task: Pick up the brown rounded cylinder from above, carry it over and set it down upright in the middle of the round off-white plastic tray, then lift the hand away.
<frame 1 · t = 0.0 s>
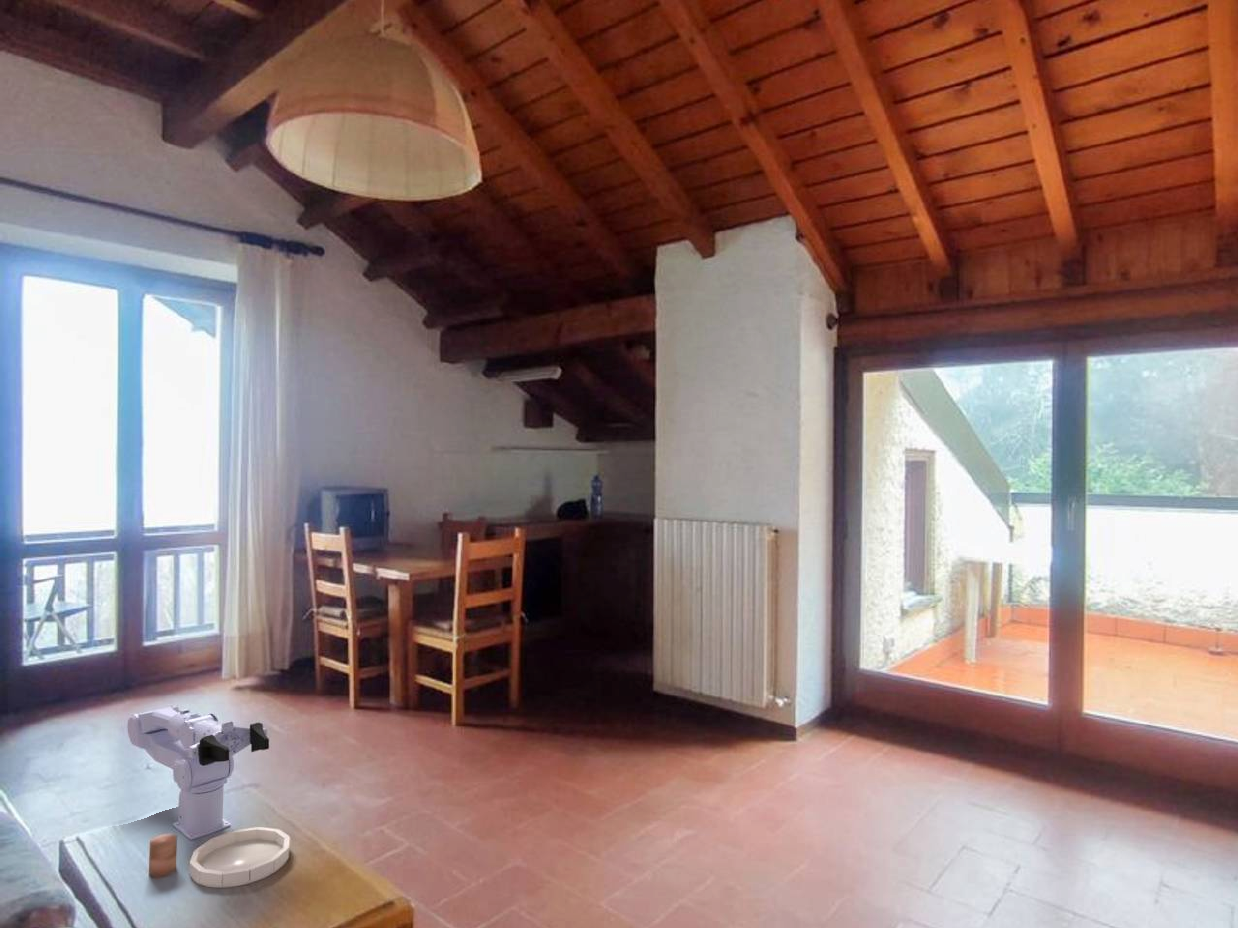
hand: (247, 749, 143), 22 cm above the table, tool horizontal, fingers open, 7 cm apart
brown rounded cylinder: (162, 871, 138), on the table
round tray: (241, 862, 141), on the table
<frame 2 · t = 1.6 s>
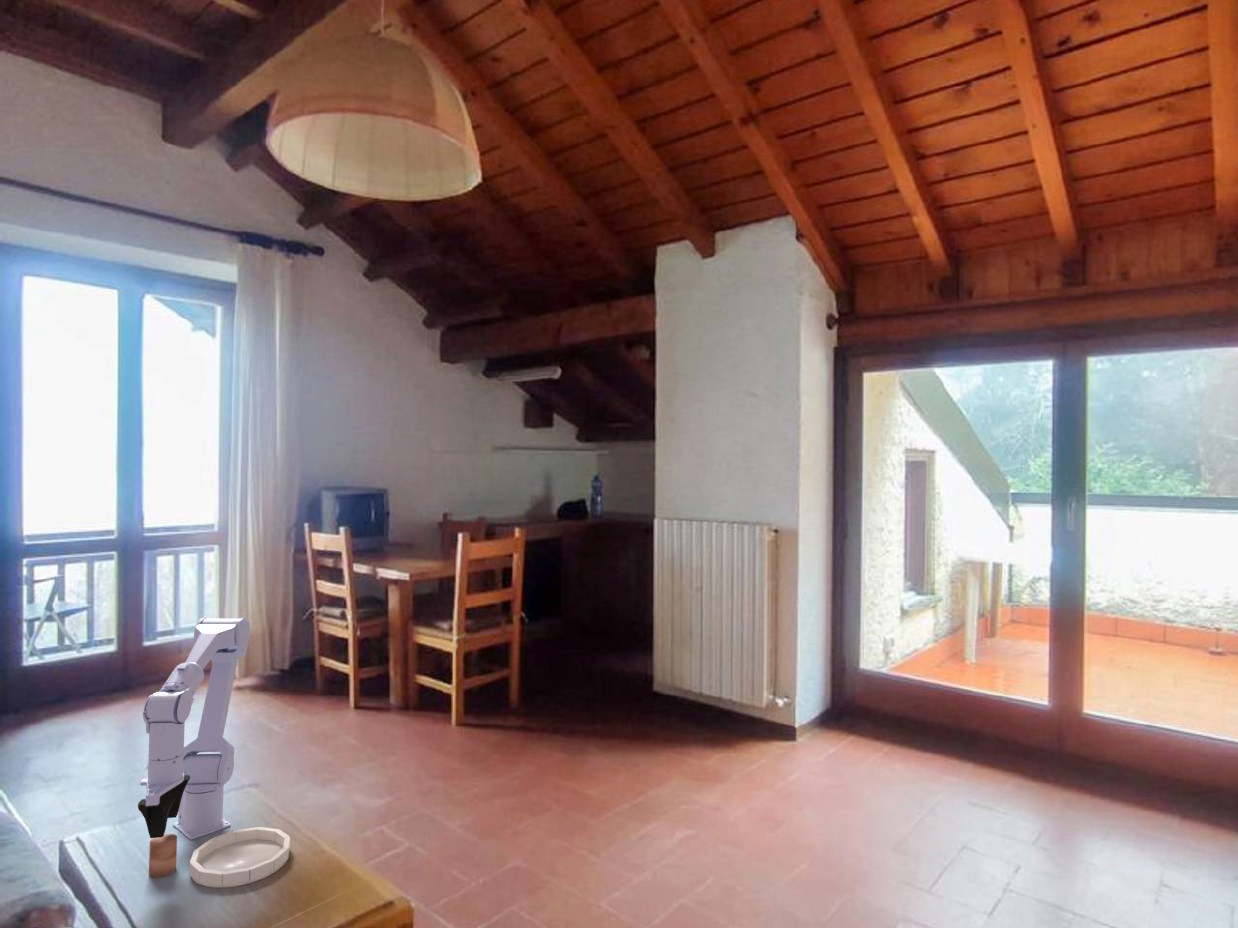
hand: (163, 826, 138), 8 cm above the table, tool pointing down, fingers open, 7 cm apart
nothing on the table moved.
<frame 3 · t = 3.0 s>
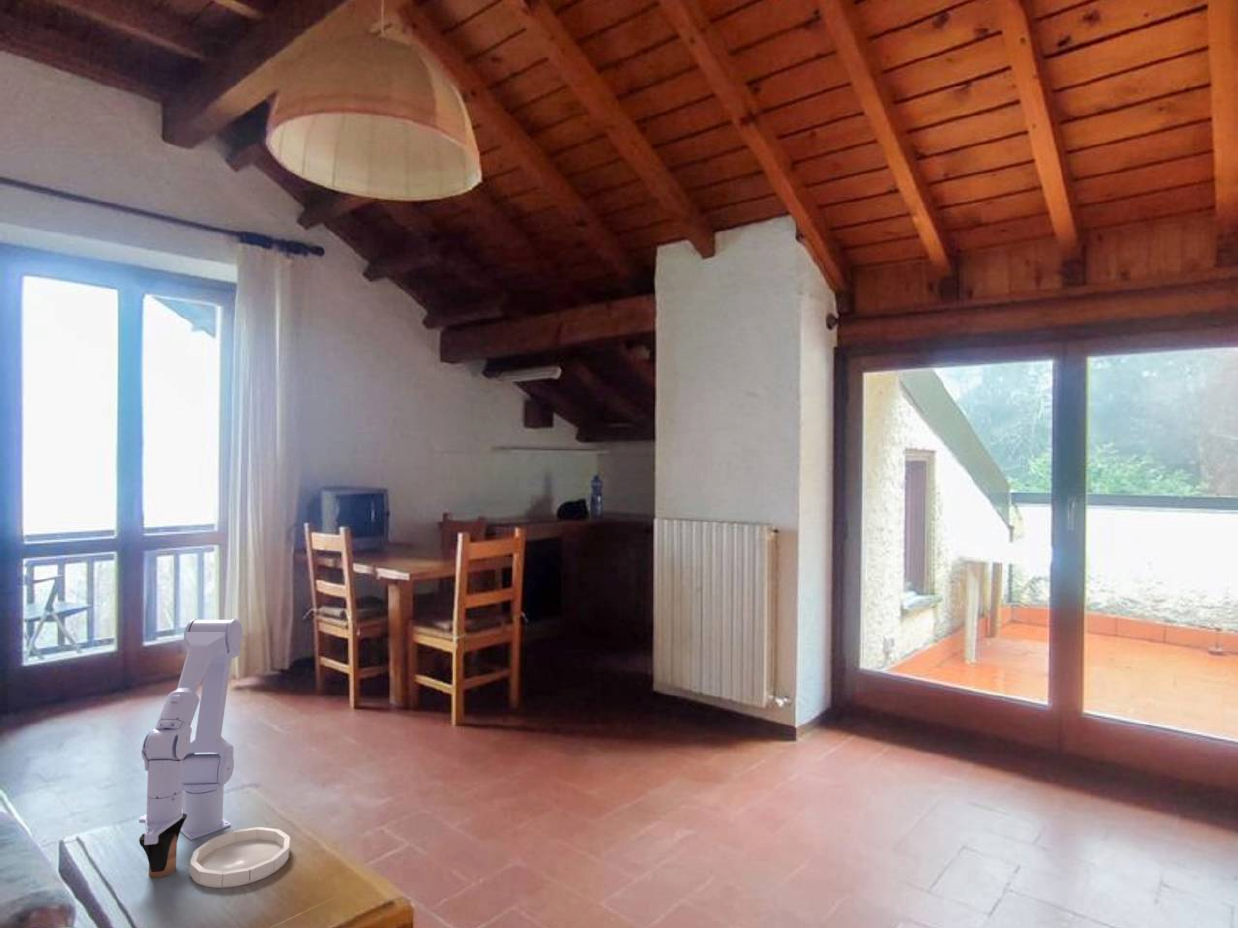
hand: (162, 863, 138), 1 cm above the table, tool pointing down, fingers closed on brown rounded cylinder, 4 cm apart
brown rounded cylinder: (162, 870, 138), on the table, touching gripper
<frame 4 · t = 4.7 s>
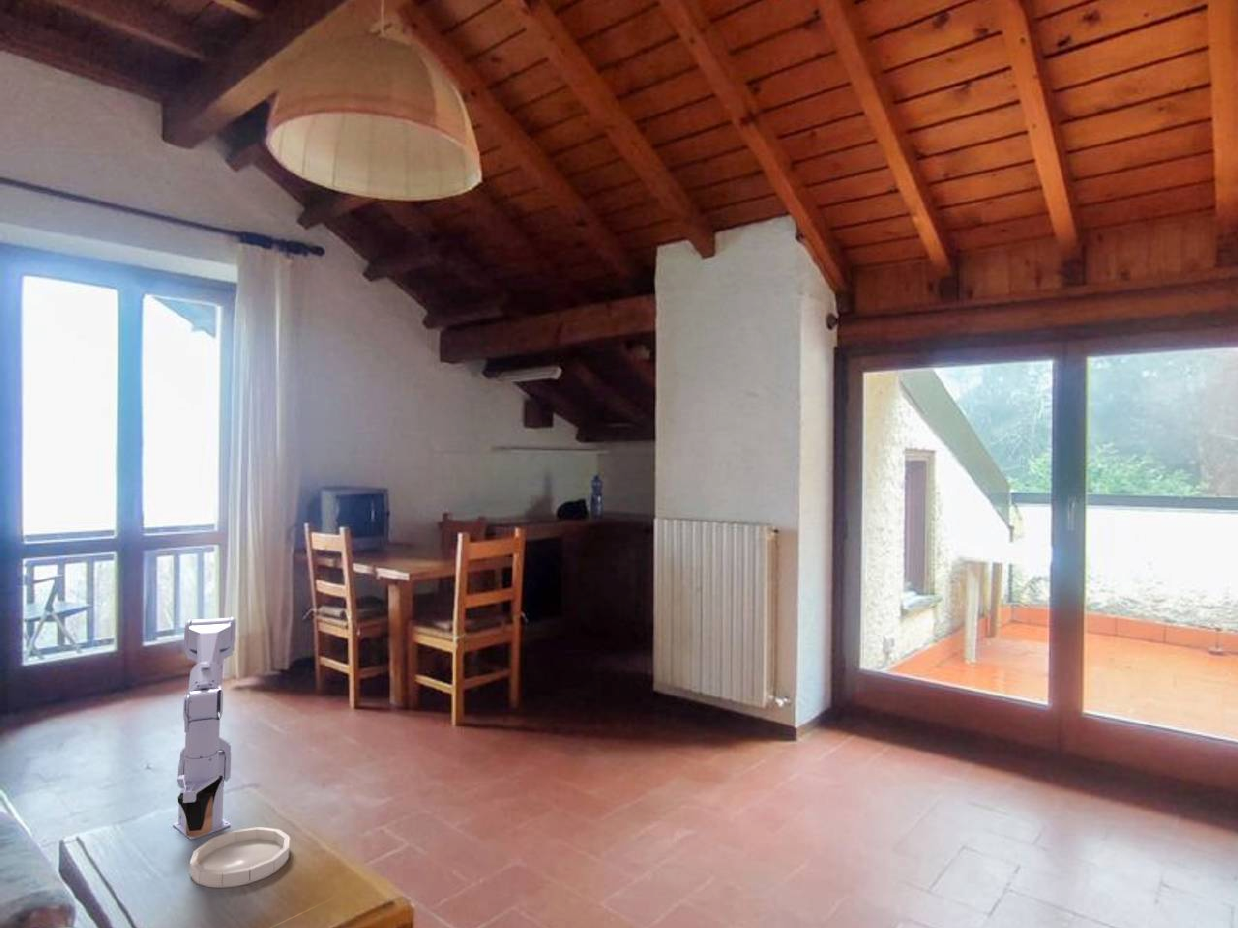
hand: (199, 823, 139), 8 cm above the table, tool pointing down, fingers closed on brown rounded cylinder, 4 cm apart
brown rounded cylinder: (199, 830, 139), point 7 cm above the table, touching gripper
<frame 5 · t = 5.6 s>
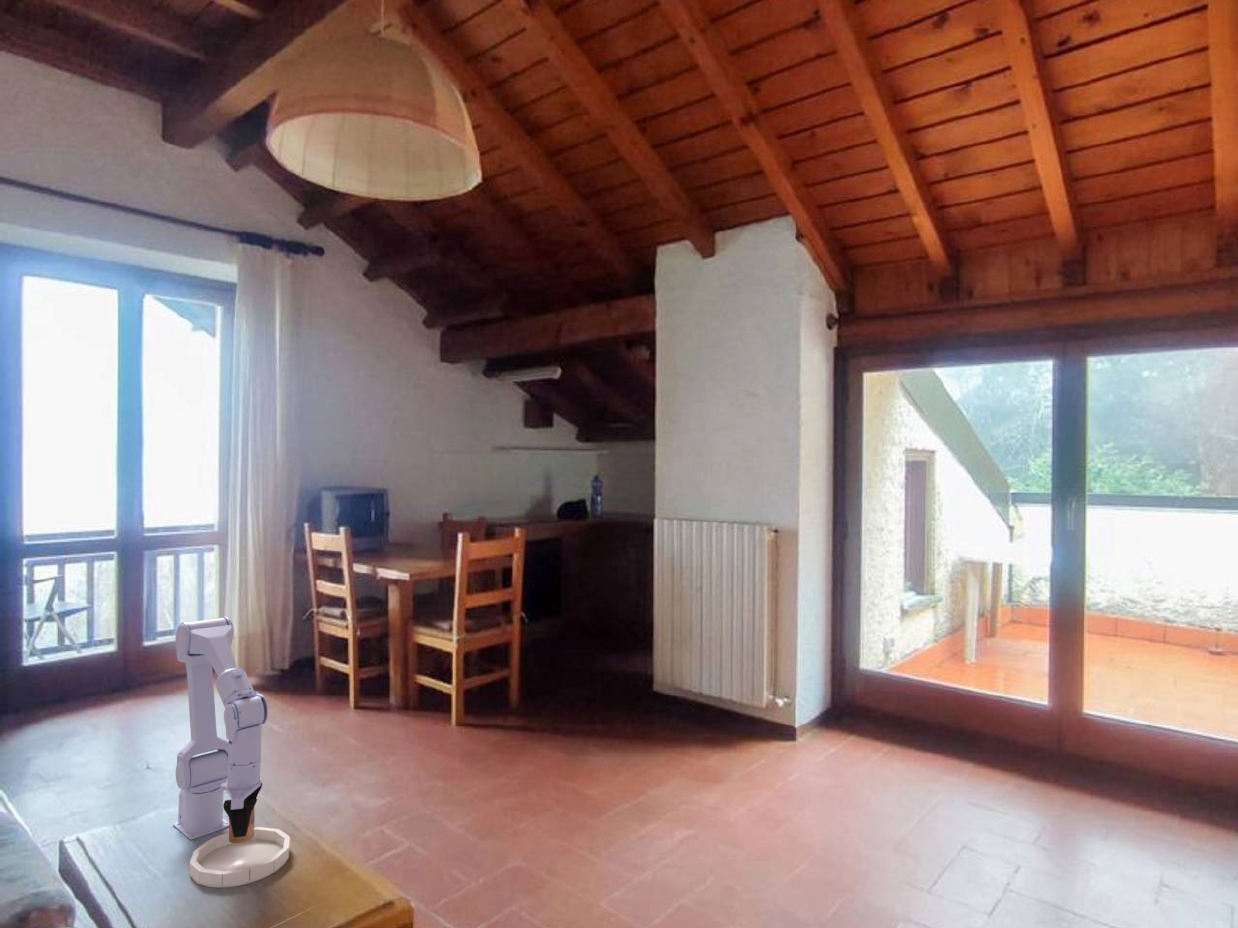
hand: (242, 829, 141), 6 cm above the table, tool pointing down, fingers closed on brown rounded cylinder, 4 cm apart
brown rounded cylinder: (241, 837, 141), point 5 cm above the table, touching gripper
when the fingers open (4 cm above the table, at t = 6.5 s): brown rounded cylinder drops 2 cm, resting on round tray.
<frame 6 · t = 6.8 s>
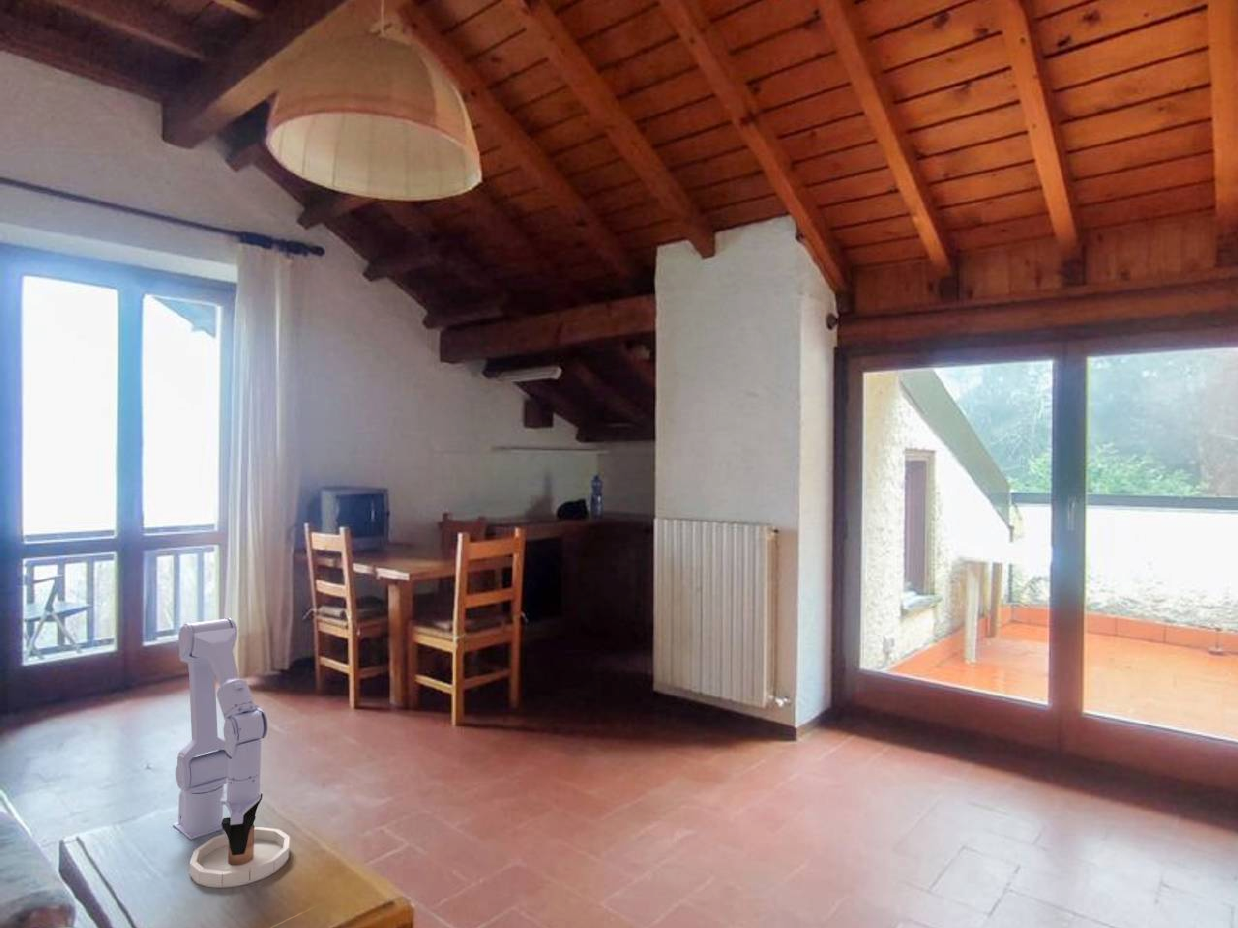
hand: (241, 843, 141), 4 cm above the table, tool pointing down, fingers open, 7 cm apart
brown rounded cylinder: (240, 859, 141), point 1 cm above the table, touching round tray
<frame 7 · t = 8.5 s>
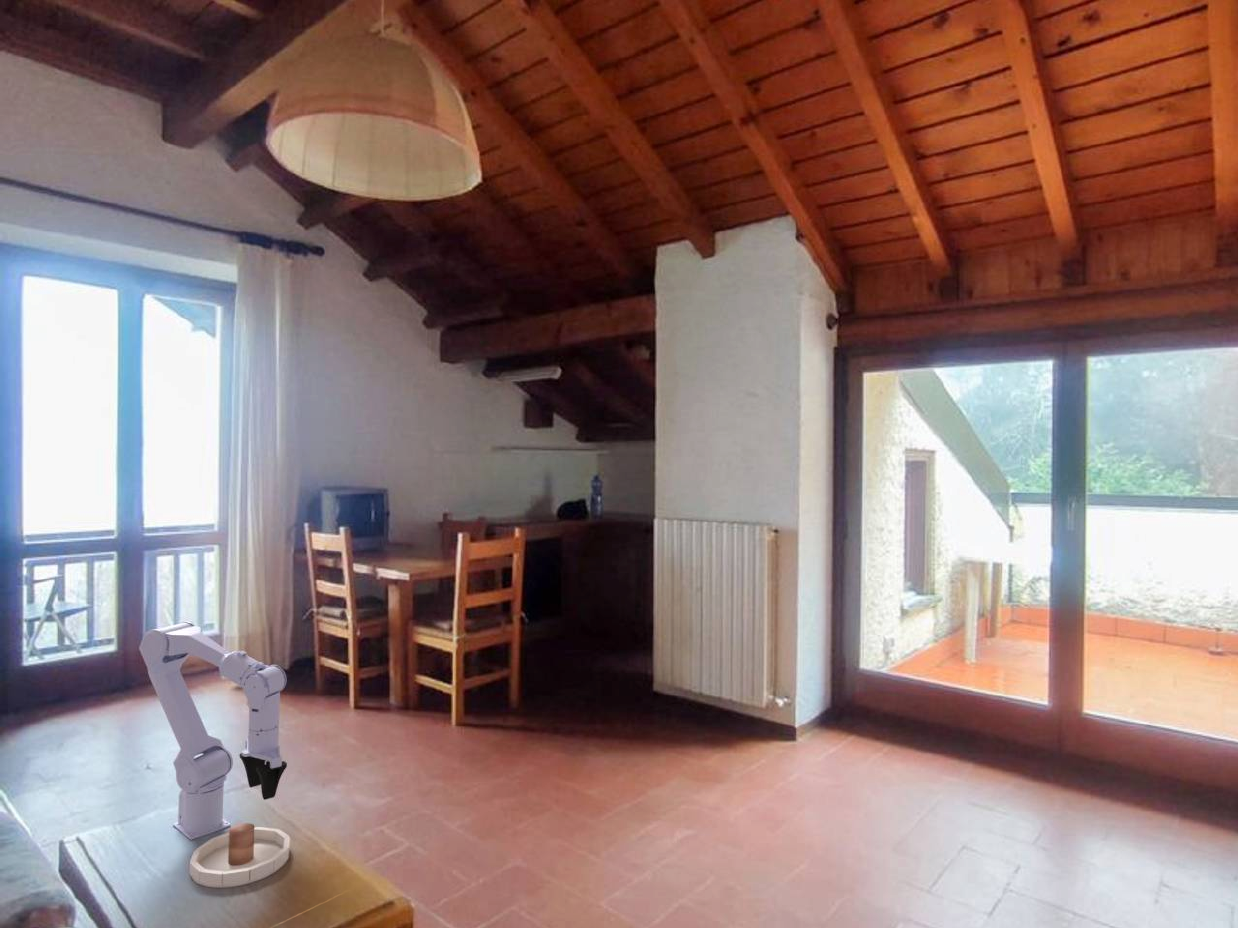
hand: (261, 791, 151), 9 cm above the table, tool pointing down, fingers open, 7 cm apart
nothing on the table moved.
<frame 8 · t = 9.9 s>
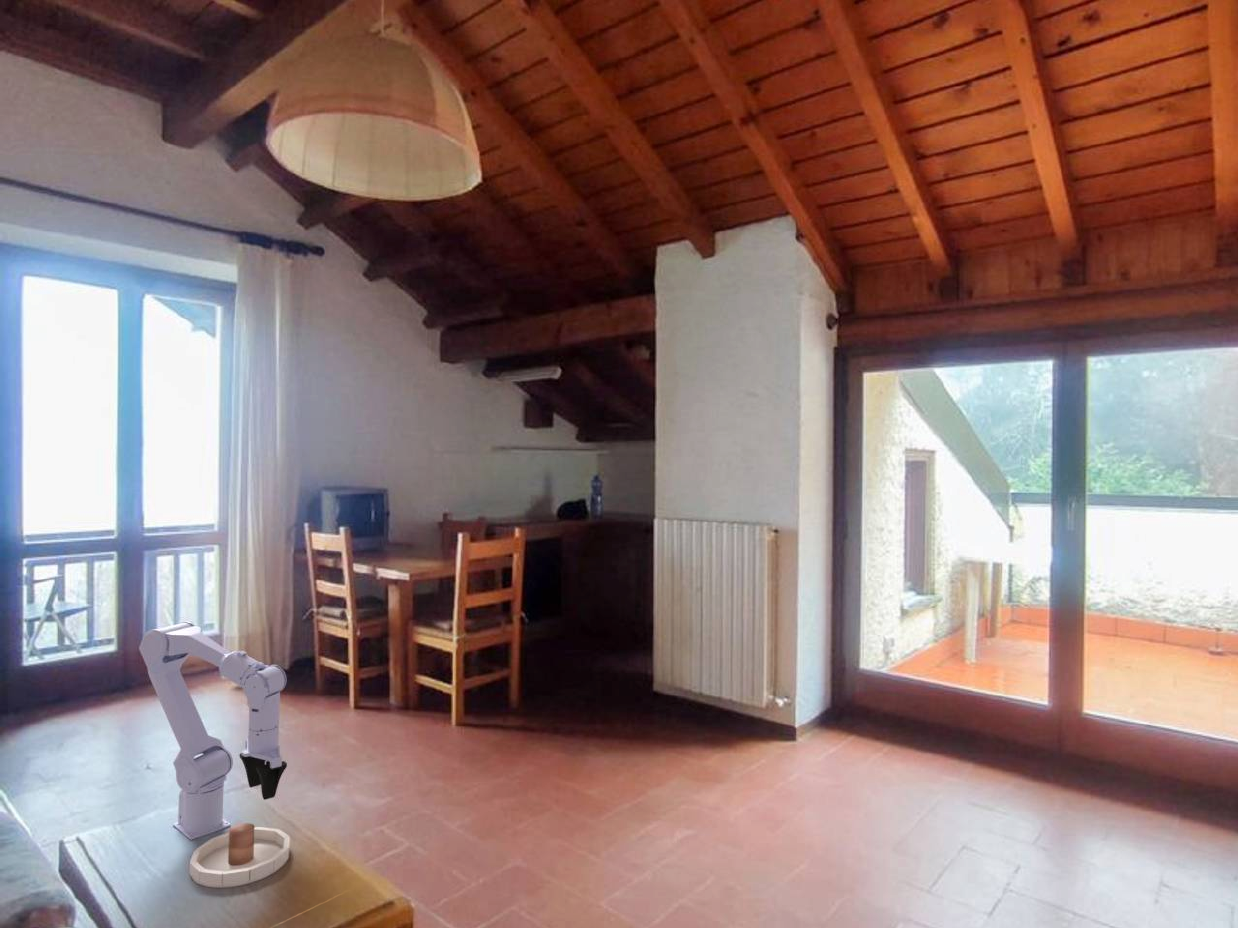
hand: (261, 791, 151), 9 cm above the table, tool pointing down, fingers open, 7 cm apart
nothing on the table moved.
at the end: brown rounded cylinder inside the target area on the round tray (0.1 cm from its centre), point 0.6 cm above the round tray's base; brown rounded cylinder tilted 0°; the gripper is holding nothing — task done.
